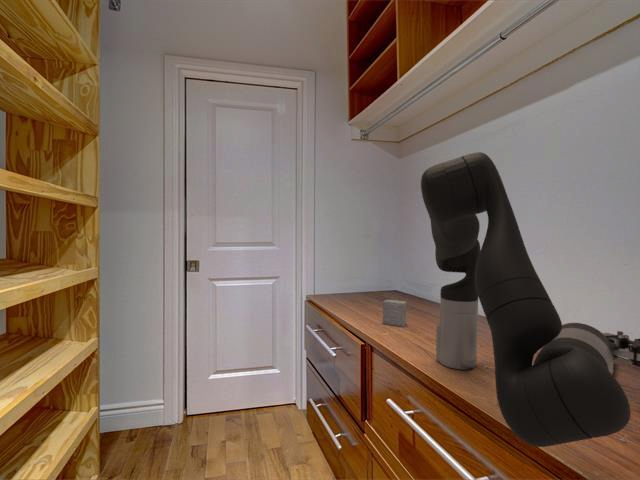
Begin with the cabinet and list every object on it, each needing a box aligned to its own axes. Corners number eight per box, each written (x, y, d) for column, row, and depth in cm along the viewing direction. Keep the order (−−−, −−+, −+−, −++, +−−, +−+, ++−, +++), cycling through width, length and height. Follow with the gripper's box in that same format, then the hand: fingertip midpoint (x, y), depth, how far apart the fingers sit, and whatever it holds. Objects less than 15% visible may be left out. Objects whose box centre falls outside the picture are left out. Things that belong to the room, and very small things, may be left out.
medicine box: (406, 324, 132) (407, 301, 132) (402, 327, 128) (403, 303, 128) (386, 321, 136) (386, 299, 136) (382, 324, 132) (382, 301, 132)
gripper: (650, 339, 42) (645, 317, 54) (516, 319, 51) (537, 304, 64) (648, 402, 42) (643, 365, 54) (515, 371, 51) (536, 345, 64)
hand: (586, 332), depth 59 cm, fingers open, 8 cm apart
